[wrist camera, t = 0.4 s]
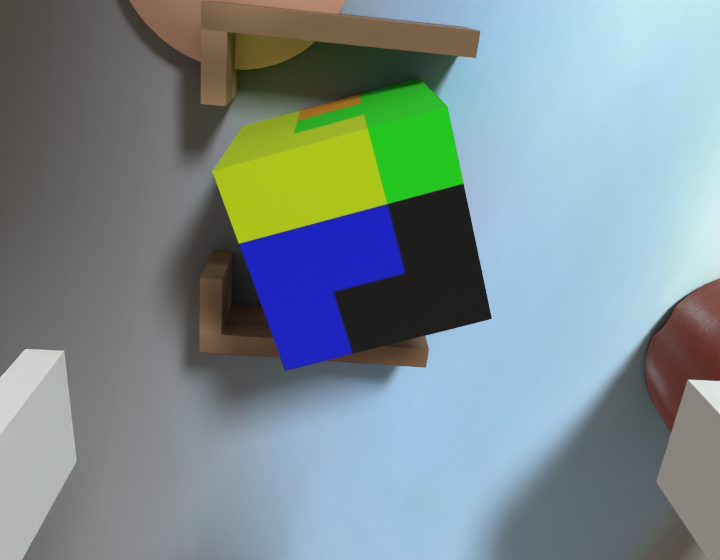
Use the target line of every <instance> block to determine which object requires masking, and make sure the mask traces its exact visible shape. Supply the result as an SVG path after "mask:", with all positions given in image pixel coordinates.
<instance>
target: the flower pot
mask: <svg viewBox="0 0 720 560" xmlns="http://www.w3.org/2000/svg"><path fill="white" fill-rule="evenodd" d="M687 380H707V381H720V279H718V280H715V281H713V282H711V283H709V284H706V285H704V286H703V287H701V288H699V289H697V290H696V291H694V292H693V293H691V294H690V295H688V296H687V297H685V298H684V299H683V300H682V301H681V302H679V303H678V304H677V305H676V306H675V307H674V309H673V312H672V315H671V316H670V318H669V320H668V321H667V323H666V324H665V325H664V327H663V328H662V329H661V330H660V331H659V332H657V333H655V334H654V336H653V338H652V340H651V342H650V345H649V348H648V351H647V355H646V360H645V381H646V385H647V389H648V392H649V395H650V397H651V399H652V401H653V403H654V405H655V406H656V408H657V410H658V411H659V413H660V415H661V417H662V418H663V420H664V422H665V424H666V425H667V427H668V429H669V430H670V432H672V429H673V426H674V422H675V419H676V416H677V413H678V409H679V406H680V403H681V400H682V397H683V393H684V390H685V387H686V384H687Z"/></svg>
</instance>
